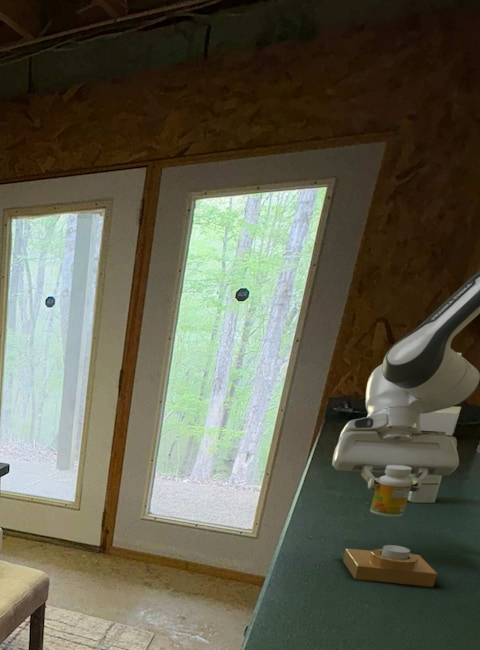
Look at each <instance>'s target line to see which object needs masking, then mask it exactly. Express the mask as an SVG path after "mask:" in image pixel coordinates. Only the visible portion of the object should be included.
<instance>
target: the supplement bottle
mask: <svg viewBox="0 0 480 650" xmlns="http://www.w3.org/2000/svg"><path fill="white" fill-rule="evenodd" d="M411 469H412V468H411V467H408V466H403V465H388V466H386V469H385V473H384V475H381V476H380V477H379V478H380V481H379V483H380V485H379V487H378V488H377V489H375V490H374V494H373V498H372V501H371V505H370V510H369V511H370V512H371V513H372V514H374V515H378V516H381V517H387V518H398V517H402V516H403V515H404V513H405V509H406V506H407V503H408V500H407V499H408V496H409V492H410V489H411V486H412V480H411V479H410V478H408V476H409V475H410V474H411Z"/></svg>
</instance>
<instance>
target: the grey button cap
mask: <svg viewBox="0 0 480 650" xmlns="http://www.w3.org/2000/svg"><path fill="white" fill-rule="evenodd" d="M381 549H382V553H381V555H382V556H384V557H387V558H392V559H399V560H406V559H408V557H409V553H410V554H411V550H410V549H409V548H407V547H405V546H400V545H393V544H386V545H383V546H382V548H381Z"/></svg>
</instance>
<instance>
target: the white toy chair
mask: <svg viewBox="0 0 480 650" xmlns="http://www.w3.org/2000/svg"><path fill="white" fill-rule="evenodd" d="M456 353H457V354H458V355H460V356H461V357H462V354H463V353H462V352H456ZM461 410H462V406H452V407H449V408H446V409H442V410H438V411H434V412H430V413H423V414H420V431H421V432H436V433H439V432H444V433H447V434H448V435H451V436H453V434H454V433H455V429H456V426H457V422H458V419H459V416H460V412H461Z"/></svg>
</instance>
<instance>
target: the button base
mask: <svg viewBox="0 0 480 650" xmlns="http://www.w3.org/2000/svg"><path fill="white" fill-rule="evenodd" d="M382 549H383V548H377V549H373V550H366V549H354V548H345V550H344V554H343V558H342V562H343V564H344V565H345V567H346V568H347V569H348V571H349V572H350V574H351V575H352V577H353V579H355V580H361V581H362V580H363V581H372V582H382V583H391V584H401V585H409V586H410V585H411V586H420V587H428V588H429V587H431V588H433V587H434V586H435V583H436V579H437V576H438V572H436V570H434V569H433V568H432V567H431V565H429V564H428V562H427V561H426V560H424V558H423V557H422V556H421V555H420V554H413V553H411V552H410V553H409V557H408V559H406V560H399V559H392V558H387V557H384V556H382V555H381V553H382Z"/></svg>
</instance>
